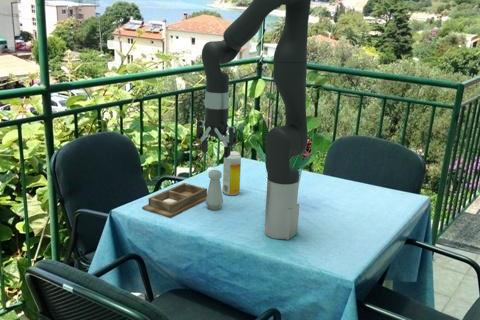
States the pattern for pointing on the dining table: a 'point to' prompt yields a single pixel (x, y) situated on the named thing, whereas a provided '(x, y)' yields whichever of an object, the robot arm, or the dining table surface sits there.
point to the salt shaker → (214, 191)
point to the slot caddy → (176, 200)
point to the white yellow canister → (232, 174)
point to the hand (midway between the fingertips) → (215, 154)
